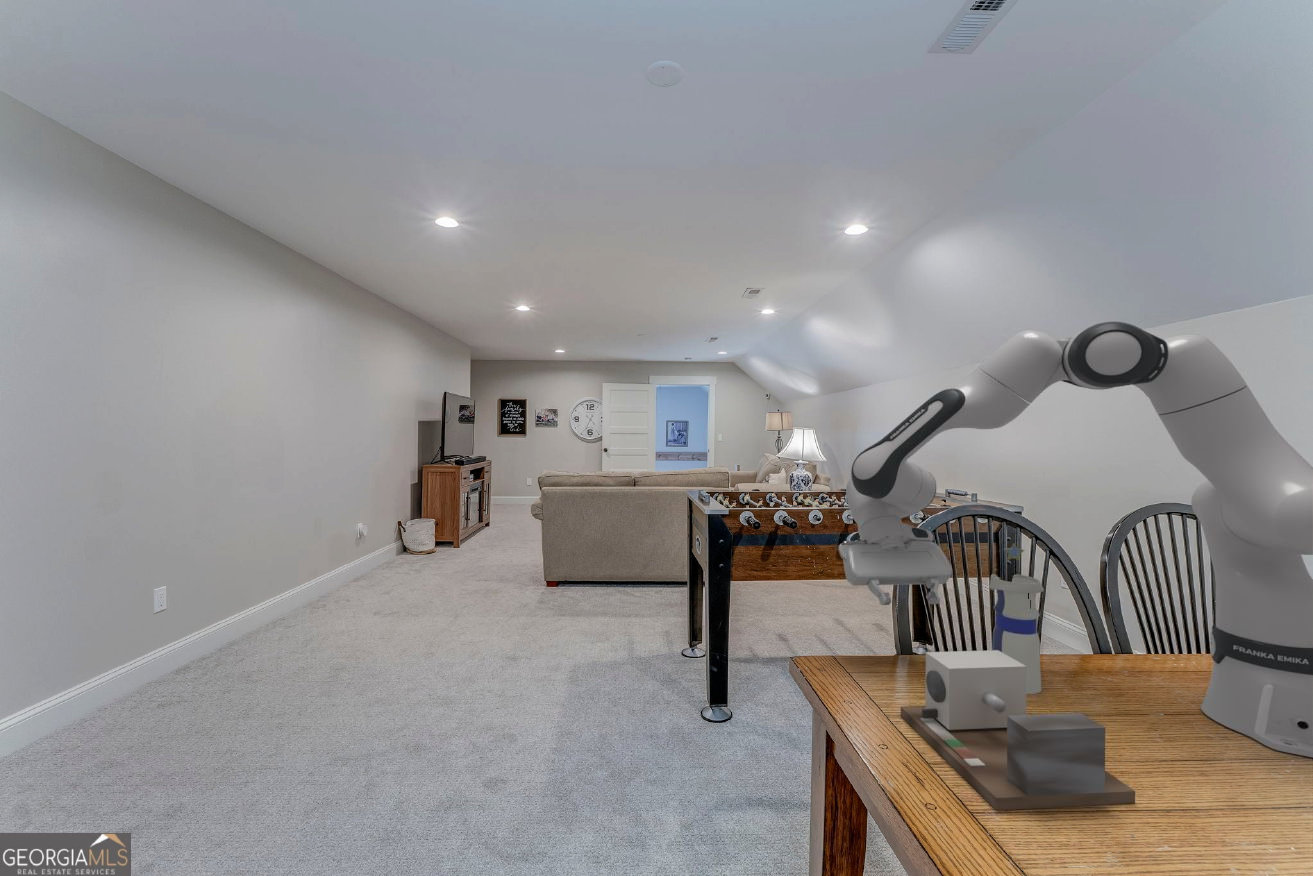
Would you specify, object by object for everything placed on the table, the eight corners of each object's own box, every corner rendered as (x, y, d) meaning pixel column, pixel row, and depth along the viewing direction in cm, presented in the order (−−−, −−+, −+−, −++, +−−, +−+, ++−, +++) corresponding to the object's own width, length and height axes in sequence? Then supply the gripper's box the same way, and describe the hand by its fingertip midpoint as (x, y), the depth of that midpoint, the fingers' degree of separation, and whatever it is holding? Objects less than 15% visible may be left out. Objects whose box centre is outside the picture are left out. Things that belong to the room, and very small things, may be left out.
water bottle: (977, 673, 103) (978, 542, 103) (1023, 674, 103) (1024, 542, 102) (1003, 693, 95) (1004, 551, 95) (1053, 694, 94) (1054, 552, 94)
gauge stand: (900, 715, 87) (900, 657, 87) (1006, 711, 88) (1006, 654, 88) (996, 810, 65) (996, 732, 65) (1135, 803, 67) (1135, 726, 66)
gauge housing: (912, 709, 85) (912, 652, 85) (997, 706, 86) (997, 650, 86) (944, 740, 77) (945, 676, 77) (1039, 736, 78) (1039, 673, 78)
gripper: (840, 532, 108) (862, 595, 98) (938, 531, 109) (970, 593, 99) (831, 549, 112) (851, 612, 102) (926, 548, 113) (955, 610, 104)
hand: (910, 603), depth 101 cm, fingers open, 8 cm apart
